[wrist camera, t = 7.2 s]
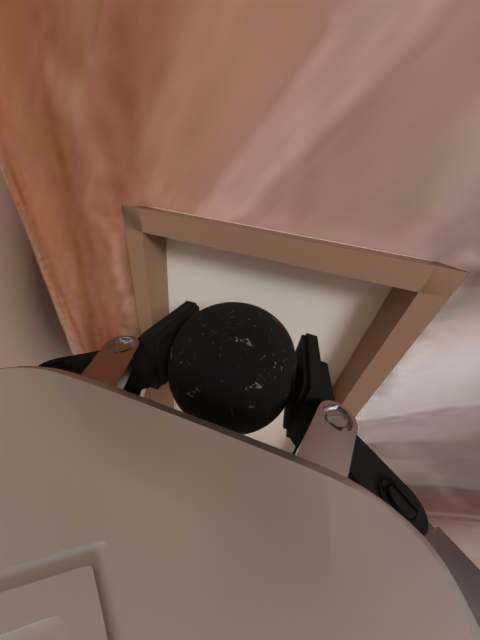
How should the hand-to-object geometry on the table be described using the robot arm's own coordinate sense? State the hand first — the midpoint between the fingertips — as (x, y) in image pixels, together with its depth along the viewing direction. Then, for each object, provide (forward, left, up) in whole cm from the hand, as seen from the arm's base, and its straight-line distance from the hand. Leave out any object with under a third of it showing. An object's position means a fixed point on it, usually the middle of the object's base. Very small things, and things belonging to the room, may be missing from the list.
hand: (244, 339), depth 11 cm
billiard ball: (0, 0, -1) cm, 1 cm away
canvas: (0, +6, -4) cm, 7 cm away
